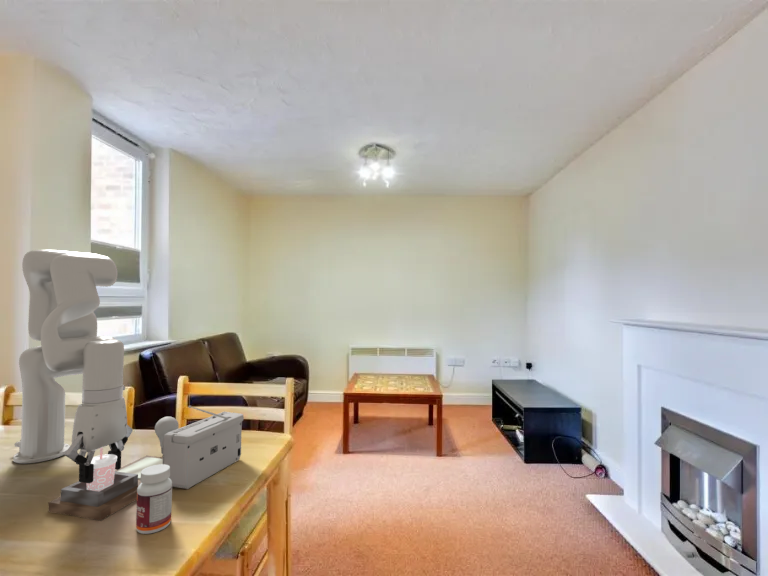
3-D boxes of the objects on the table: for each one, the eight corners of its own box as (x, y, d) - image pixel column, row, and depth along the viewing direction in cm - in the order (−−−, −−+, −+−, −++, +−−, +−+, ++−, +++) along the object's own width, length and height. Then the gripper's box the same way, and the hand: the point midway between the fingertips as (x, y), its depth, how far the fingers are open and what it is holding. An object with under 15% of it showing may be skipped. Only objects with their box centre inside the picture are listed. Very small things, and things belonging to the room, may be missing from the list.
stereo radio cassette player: (222, 455, 116) (223, 386, 116) (245, 459, 113) (246, 389, 113) (160, 487, 96) (161, 404, 96) (186, 493, 93) (188, 408, 94)
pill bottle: (131, 526, 79) (132, 469, 80) (164, 514, 84) (165, 460, 84) (142, 539, 75) (144, 479, 76) (176, 525, 80) (177, 468, 80)
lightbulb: (167, 459, 112) (168, 420, 112) (149, 458, 113) (149, 419, 114) (182, 451, 118) (183, 414, 118) (164, 450, 119) (165, 413, 120)
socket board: (48, 511, 85) (48, 490, 85) (146, 462, 110) (147, 446, 110) (101, 520, 82) (101, 498, 82) (190, 468, 107) (190, 451, 107)
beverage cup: (80, 509, 85) (82, 443, 85) (85, 496, 91) (87, 434, 91) (114, 503, 88) (116, 439, 88) (117, 490, 93) (119, 430, 94)
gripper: (122, 385, 99) (120, 458, 99) (49, 403, 82) (47, 491, 82) (147, 387, 97) (145, 461, 97) (78, 406, 80) (76, 496, 80)
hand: (100, 474), depth 89 cm, fingers closed on beverage cup, 6 cm apart
